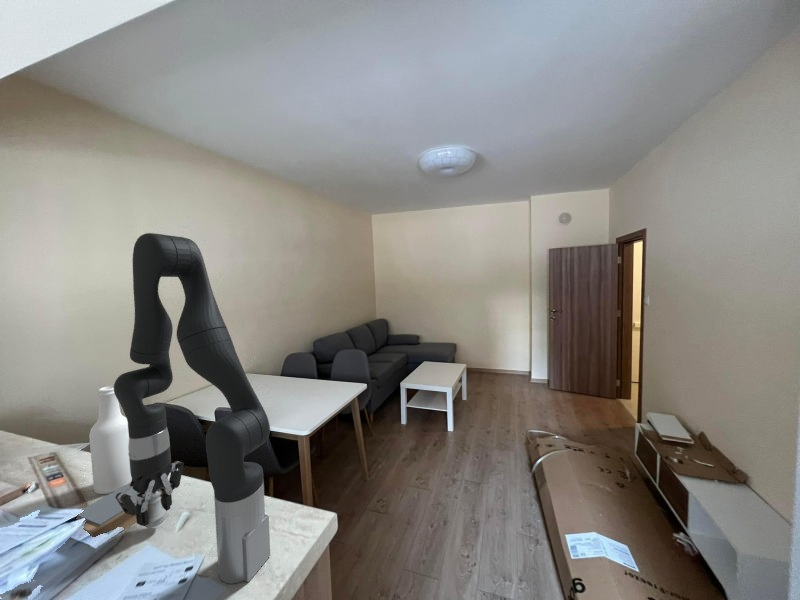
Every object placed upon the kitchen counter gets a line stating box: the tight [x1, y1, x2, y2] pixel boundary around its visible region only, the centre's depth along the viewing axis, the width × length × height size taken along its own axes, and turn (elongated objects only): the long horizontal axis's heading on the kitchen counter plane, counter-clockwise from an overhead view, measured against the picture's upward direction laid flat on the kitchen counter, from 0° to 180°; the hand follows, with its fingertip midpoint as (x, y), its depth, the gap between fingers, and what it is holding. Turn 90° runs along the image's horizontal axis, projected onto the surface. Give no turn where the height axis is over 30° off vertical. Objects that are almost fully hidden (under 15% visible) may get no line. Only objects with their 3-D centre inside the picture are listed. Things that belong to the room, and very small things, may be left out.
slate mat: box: [77, 483, 137, 526], centre depth 76 cm, size 10×13×1 cm
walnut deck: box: [76, 482, 162, 537], centre depth 76 cm, size 12×16×4 cm
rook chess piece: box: [144, 488, 168, 529], centre depth 72 cm, size 4×4×8 cm
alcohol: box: [88, 385, 132, 495], centre depth 87 cm, size 9×9×30 cm
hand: (155, 516), depth 72 cm, fingers closed on rook chess piece, 4 cm apart
